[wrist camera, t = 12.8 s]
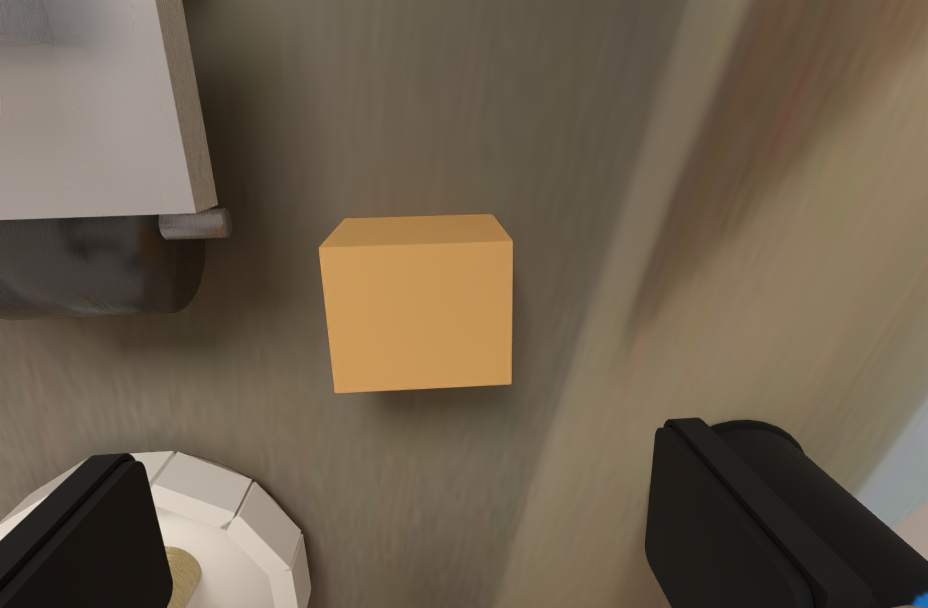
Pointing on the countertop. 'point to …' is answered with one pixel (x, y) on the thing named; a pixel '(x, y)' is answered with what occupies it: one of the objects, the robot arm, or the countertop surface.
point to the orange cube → (418, 302)
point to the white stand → (101, 160)
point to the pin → (182, 576)
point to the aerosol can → (831, 513)
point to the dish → (216, 531)
